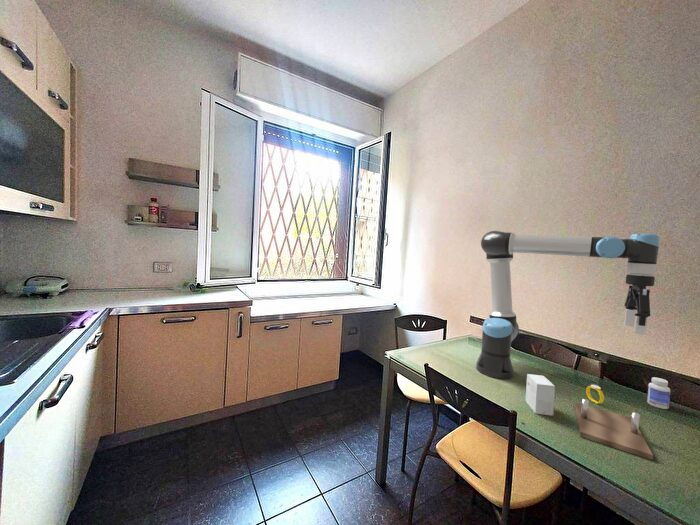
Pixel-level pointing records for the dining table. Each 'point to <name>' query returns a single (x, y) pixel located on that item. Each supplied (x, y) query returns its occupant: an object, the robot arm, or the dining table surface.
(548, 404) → the small box
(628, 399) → the dining table surface
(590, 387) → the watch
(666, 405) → the pill bottle
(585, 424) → the pin tray
